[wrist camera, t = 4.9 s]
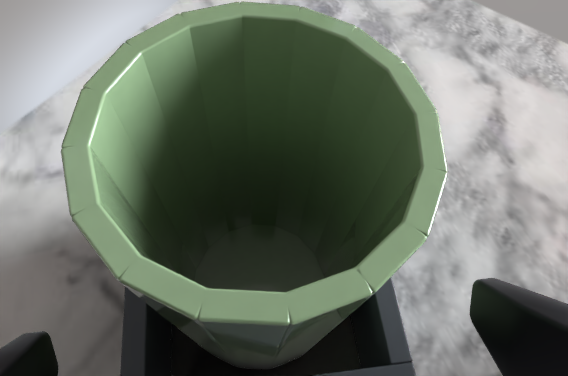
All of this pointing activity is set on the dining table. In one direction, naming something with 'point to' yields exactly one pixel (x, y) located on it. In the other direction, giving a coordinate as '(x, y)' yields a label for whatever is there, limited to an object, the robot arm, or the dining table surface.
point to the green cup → (254, 174)
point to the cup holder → (374, 372)
